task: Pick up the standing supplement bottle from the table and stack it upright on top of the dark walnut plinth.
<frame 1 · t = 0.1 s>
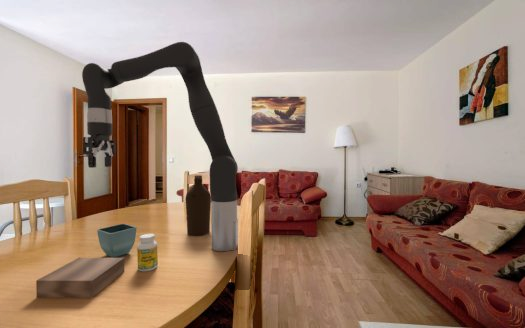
hand: (100, 167, 88), 29 cm above the table, tool pointing down, fingers open, 8 cm apart
flower pot: (117, 255, 82), on the table
olive oil: (198, 233, 106), on the table
walnut plinth: (85, 283, 63), on the table
supplement bottle: (147, 268, 72), on the table
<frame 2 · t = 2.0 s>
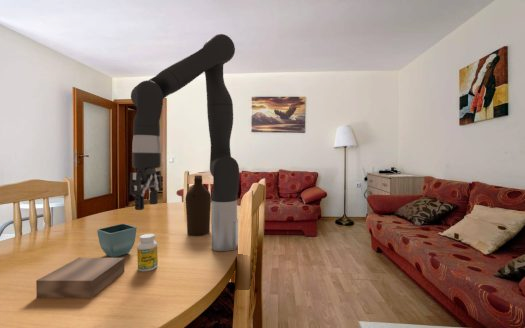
hand: (147, 206, 72), 18 cm above the table, tool pointing down, fingers open, 8 cm apart
nothing on the table moved.
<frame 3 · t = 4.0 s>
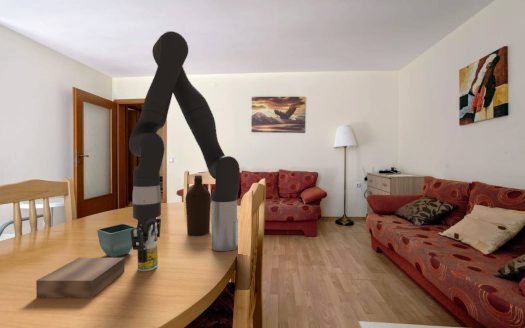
hand: (147, 257, 72), 3 cm above the table, tool pointing down, fingers closed on supplement bottle, 5 cm apart
supplement bottle: (147, 268, 72), on the table, touching gripper
everything else where it was.
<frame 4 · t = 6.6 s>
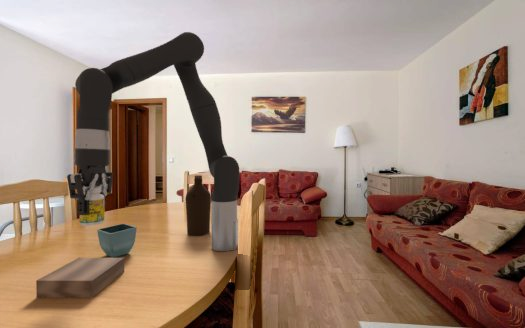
hand: (92, 212, 64), 18 cm above the table, tool pointing down, fingers closed on supplement bottle, 5 cm apart
supplement bottle: (92, 224, 64), point 15 cm above the table, touching gripper
everything else where it was.
when the fingers open (9 cm above the table, at t = 9.7 s): supplement bottle drops 2 cm, resting on walnut plinth.
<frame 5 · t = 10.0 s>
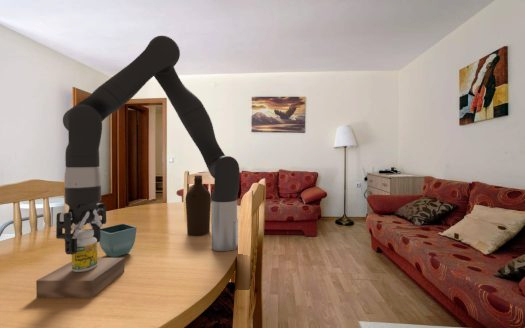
hand: (84, 247, 63), 9 cm above the table, tool pointing down, fingers open, 8 cm apart
supplement bottle: (85, 268, 63), point 4 cm above the table, touching walnut plinth
everything else where it was.
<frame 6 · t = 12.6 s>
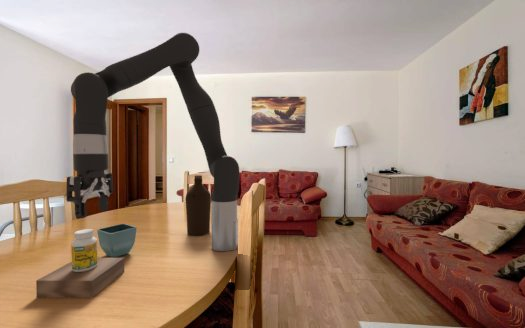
hand: (93, 213, 64), 18 cm above the table, tool pointing down, fingers open, 8 cm apart
nothing on the table moved.
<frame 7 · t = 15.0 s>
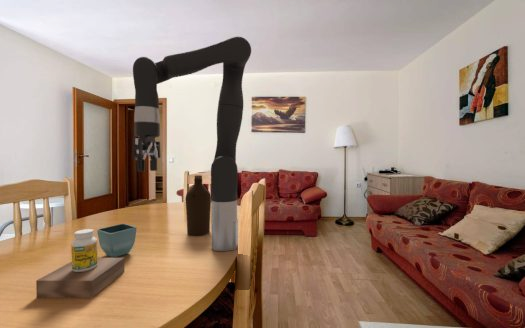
hand: (147, 171, 80), 28 cm above the table, tool pointing down, fingers open, 8 cm apart
nothing on the table moved.
at the end: supplement bottle inside the target area on the walnut plinth (0.1 cm from its centre), point 3.8 cm above the walnut plinth's base; supplement bottle tilted 0°; supplement bottle touching walnut plinth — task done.
